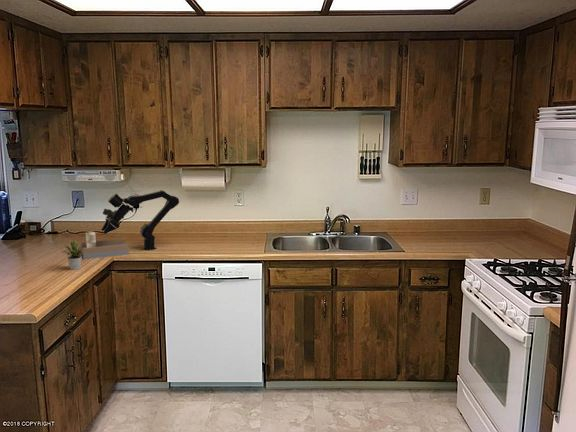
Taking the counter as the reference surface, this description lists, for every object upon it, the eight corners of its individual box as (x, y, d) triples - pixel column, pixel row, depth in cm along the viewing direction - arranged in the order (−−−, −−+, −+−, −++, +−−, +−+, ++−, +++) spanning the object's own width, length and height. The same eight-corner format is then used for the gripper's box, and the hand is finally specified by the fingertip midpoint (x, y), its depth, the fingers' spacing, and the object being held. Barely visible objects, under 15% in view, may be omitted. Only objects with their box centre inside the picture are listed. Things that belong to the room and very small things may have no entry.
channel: (124, 247, 309) (123, 238, 308) (128, 254, 294) (128, 244, 292) (81, 251, 298) (80, 242, 297) (83, 258, 282) (83, 248, 281)
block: (95, 248, 295) (94, 232, 294) (96, 250, 291) (95, 233, 289) (86, 248, 293) (85, 232, 291) (87, 250, 289) (86, 234, 287)
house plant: (55, 267, 264) (53, 238, 261) (81, 263, 274) (79, 234, 271) (65, 273, 254) (63, 242, 251) (91, 268, 264) (89, 238, 261)
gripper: (108, 201, 301) (90, 220, 298) (112, 206, 285) (93, 226, 282) (122, 213, 306) (105, 232, 303) (127, 218, 289) (108, 238, 286)
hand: (102, 231), depth 293 cm, fingers open, 9 cm apart
